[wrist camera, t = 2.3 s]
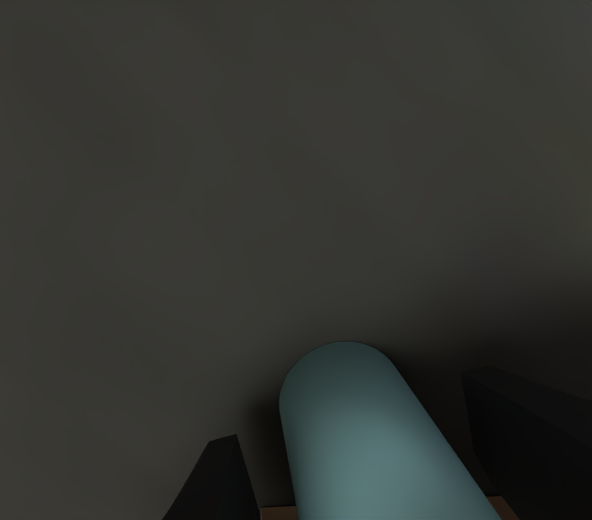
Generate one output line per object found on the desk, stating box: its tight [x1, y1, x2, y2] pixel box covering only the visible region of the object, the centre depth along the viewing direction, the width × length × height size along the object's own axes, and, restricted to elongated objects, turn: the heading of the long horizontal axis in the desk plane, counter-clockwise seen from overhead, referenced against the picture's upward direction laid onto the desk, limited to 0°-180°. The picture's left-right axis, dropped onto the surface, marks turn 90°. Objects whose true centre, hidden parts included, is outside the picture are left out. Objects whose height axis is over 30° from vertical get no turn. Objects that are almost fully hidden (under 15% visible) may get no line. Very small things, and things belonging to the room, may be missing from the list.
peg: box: [279, 341, 502, 520], centre depth 10 cm, size 3×3×7 cm
